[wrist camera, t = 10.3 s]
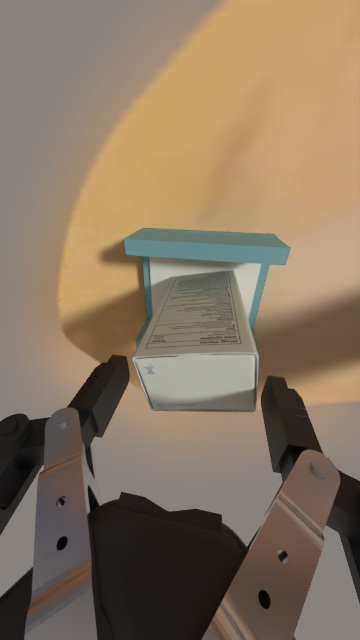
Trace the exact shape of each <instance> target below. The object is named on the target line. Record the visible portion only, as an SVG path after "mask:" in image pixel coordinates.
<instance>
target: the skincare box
mask: <svg viewBox="0 0 360 640" xmlns="http://www.w3.org/2000/svg"><path fill="white" fill-rule="evenodd" d="M258 357H259V356H258V352H257V349H256V346H255V342H254V339H253V335H252V332H251V329H250V325H249V321H248V318H247V314H246V310H245V307H244V304H243V300H242V296H241V293H240V289H239V286H238V282H237V278H236V275H235V272H234V271H233V270H229V271H217V272H208V273H199V274H190V275H182V276H175V277H172V279H171V281H170V283H169V285H168V287H167V289H166V291H165V293H164V295H163V297H162V299H161V301H160V303H159V305H158V307H157V309H156V311H155V313H154V315H153V317H152V319H151V321H150V323H149V325H148V327H147V329H146V331H145V333H144V335H143V337H142V339H141V341H140V343H139V345H138V347H137V349H136V351H135V353H134V355H133V357H132V360H133V362H134V365H135V368H136V371H137V374H138V377H139V379H140V382H141V385H142V387H143V390H144V393H145V395H146V398H147V400H148V402H149V405H150V408H151V409H152V410H153V411H182V412H183V411H188V412H254V411H255V410H256V400H257V384H258Z"/></svg>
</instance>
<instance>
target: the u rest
mask: <svg viewBox="0 0 360 640" xmlns="http://www.w3.org/2000/svg"><path fill="white" fill-rule="evenodd" d="M124 244H125V253H126V255H133V256H142V259H143V272H144V286H145V299H146V312H147V321H146V323H145V324H144V326H143V328H142V330H141V332H140V334H139V336H138V337H137V339H136V346H137V347H138V345H139V343H140V341H141V339H142V337H143V335H144V333H145V331H146V329H147V327H148V325H149V323H150V321H151V319H152V317H153V315H154V313H155V311H156V309H157V307H158V305H159V303H160V301H161V299H162V297H163V295H164V293H165V291H166V289H167V287H168V285H169V283H170V281H171V279H172V277H175V276H182V275H190V274H199V273H208V272H217V271H229V270H233V271H234V272H235V275H236V278H237V282H238V286H239V289H240V293H241V296H242V300H243V304H244V307H245V310H246V314H247V318H248V321H249V325H250V329H251V332H252V335H253V339H254V342H255V346H256V349H257V345H256V341H255V337H254V333H253V328H254V324H255V320H256V316H257V312H258V308H259V304H260V300H261V296H262V293H263V289H264V285H265V281H266V277H267V273H268V269H269V265H270V264H272V265H286V262H287V258H288V255H289V252H290V247H288V246H287V245H286V244H285V243H283V242H282V241H281V240H280V239H278V238H277V236H276V235H274V234H258V233H237V232H216V231H196V230H175V229H154V228H143V229H141V230H140V231H138V232H136V233H134V234H132V235H130V236H129V237H127V238H125V239H124ZM257 352H258V349H257ZM258 356H259V353H258Z"/></svg>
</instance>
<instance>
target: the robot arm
mask: <svg viewBox="0 0 360 640" xmlns="http://www.w3.org/2000/svg"><path fill="white" fill-rule="evenodd" d="M129 377H130V374H129V368H128V362H127V357H126V356H120V355H112V356H111V357H110V359H109V360H108V362H107V363H105V362H103V363H101V364H100V365H99V366H98V367H96V368H95V369H94V371H93V372H92V373H91V375H90V377H88V379H87V380H86V383H84V384H83V386H82V387H81V389H80V390H79V392H78V393H77V394H76V396H75V397H74V399H73V400H72V401H71V403H70V404H69V405H68V406H67V408H63V409H60V410H58V411H57V412H55V413H54V414H53V415H51V417H48V418H42V419H35V420H29V419H28V417H27V416H26V415H24V414H15V415H11V416H9V417H7V418H5V419H4V420H2V421H1V422H0V535H1V533H2V532H3V530H4V528H5V527H6V525H7V523H8V522H9V520H10V518H11V517H12V515H13V513H14V512H15V510H16V508H17V506H18V505H19V503H20V502H21V500H22V498H23V496H24V495H25V493H26V491H27V490H28V488H29V486H30V485H31V483H32V482H33V480H34V478H35V477H36V475H37V473H38V471H39V470H40V468H41V467H42V465H44V470H43V472H41V473H40V474H39V477H38V483H37V502H36V522H35V540H34V561H33V567H32V568H31V569H30V570H29V571H28V572H27V573H26V574H25V575H24V576H22V577H21V578H20V579H19V580H18V581H17V582H16V583H15V584H14V585H13V586H12V587H11V588H10V589H8V590H7V591H6V592H5V593H4V594H3V595H2V596H1V597H0V640H296V639H295V637H294V633H295V630H296V627H297V624H298V620H299V618H300V615H301V612H302V609H303V606H304V603H305V600H306V597H307V594H308V591H309V588H310V585H311V582H312V579H313V576H314V573H315V570H316V567H317V564H318V561H319V558H320V555H321V552H322V549H323V546H324V537H323V531H324V528H325V525H327V526H328V527H330V528H332V529H334V530H335V531H337V532H339V535H340V538H341V542H342V545H343V548H344V552H345V555H346V559H347V562H348V565H349V568H350V572H351V576H352V579H353V582H354V586H355V589H356V592H357V596H358V599H359V603H360V481H358V480H356V479H354V478H352V477H350V476H348V475H346V474H344V473H342V472H341V471H339V470H338V469H337V468H336V467H335V465H334V464H333V463H332V462H331V460H330V459H329V458H327V457H326V456H325V455H324V454H323V452H322V450H321V447H320V445H319V442H318V440H317V437H316V434H315V432H314V429H313V427H312V424H311V421H310V419H309V416H308V414H307V411H306V410H305V405H304V403H303V400H302V398H301V397H300V396H299V394H298V393H297V392H296V391H295V389H289V388H288V387H287V384H286V381H285V379H284V378H283V377H275V376H268V377H267V380H266V383H265V386H264V389H263V392H262V395H261V407H262V412H263V418H264V424H265V429H266V435H267V440H268V446H269V452H270V457H271V463H272V469H273V472H277V473H281V475H282V480H283V483H282V484H281V486H280V488H279V490H278V491H277V493H276V495H275V497H274V499H273V500H272V502H271V504H270V506H269V508H268V510H267V511H266V513H265V515H264V517H263V518H262V520H261V522H260V524H259V526H258V527H257V529H256V530H255V532H254V534H253V536H252V538H251V539H250V541H249V543H248V545H247V547H246V546H245V544H244V543H243V541H242V540H241V539H240V538H239V536H238V535H237V534H236V533H235V532H234V531H233V530H232V529H230V528H229V527H228V526H227V525H225V524H223V523H222V515H220V514H216V513H212V512H207V511H203V510H199V509H191V510H182V511H172V512H169V511H166V510H164V509H163V508H161V507H160V506H158V505H156V504H155V503H153V502H152V501H150V500H148V499H147V498H145V497H142V496H137V495H133V494H129V493H124V492H121V495H120V498H119V499H116V500H112V501H109V502H107V503H105V504H103V505H102V502H101V497H100V492H99V488H98V484H97V479H96V473H95V466H94V460H93V454H92V446H91V442H92V440H93V438H94V437H95V436H96V437H101V438H102V436H103V434H104V432H105V430H106V428H107V426H108V424H109V422H110V420H111V418H112V416H113V414H114V412H115V410H116V408H117V405H118V404H119V401H120V399H121V397H122V395H123V393H124V391H125V389H126V387H127V385H128V382H129Z"/></svg>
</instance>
